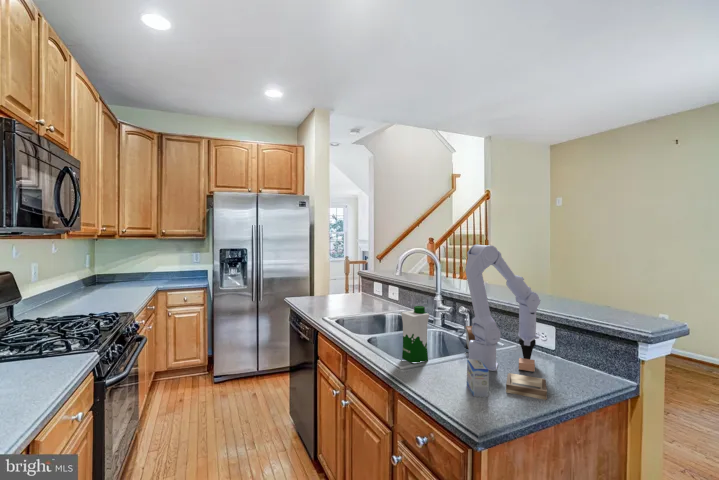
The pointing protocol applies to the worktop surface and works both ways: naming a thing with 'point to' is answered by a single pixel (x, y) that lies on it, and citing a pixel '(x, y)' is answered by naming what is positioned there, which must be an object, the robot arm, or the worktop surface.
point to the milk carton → (415, 334)
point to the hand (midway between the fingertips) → (526, 359)
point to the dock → (526, 386)
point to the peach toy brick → (527, 364)
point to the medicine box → (477, 378)
